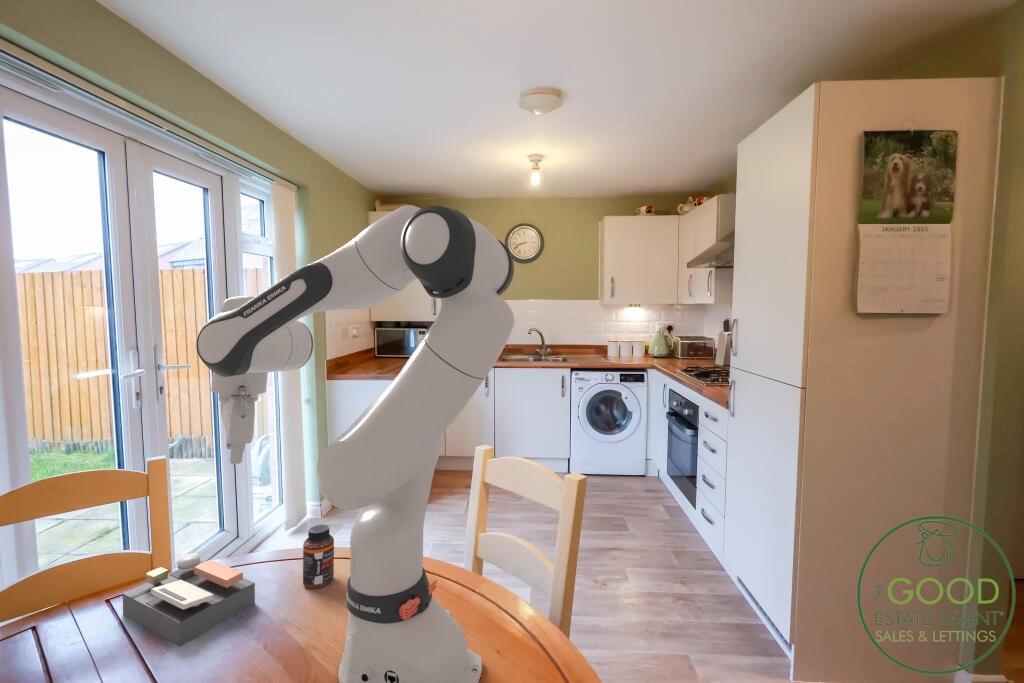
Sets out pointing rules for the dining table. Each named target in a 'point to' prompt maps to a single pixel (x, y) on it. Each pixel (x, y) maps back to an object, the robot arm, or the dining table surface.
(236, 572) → the terracotta button
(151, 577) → the slider knob
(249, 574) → the dining table surface
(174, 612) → the panel
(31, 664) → the dining table surface
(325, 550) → the supplement bottle
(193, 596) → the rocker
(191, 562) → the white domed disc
